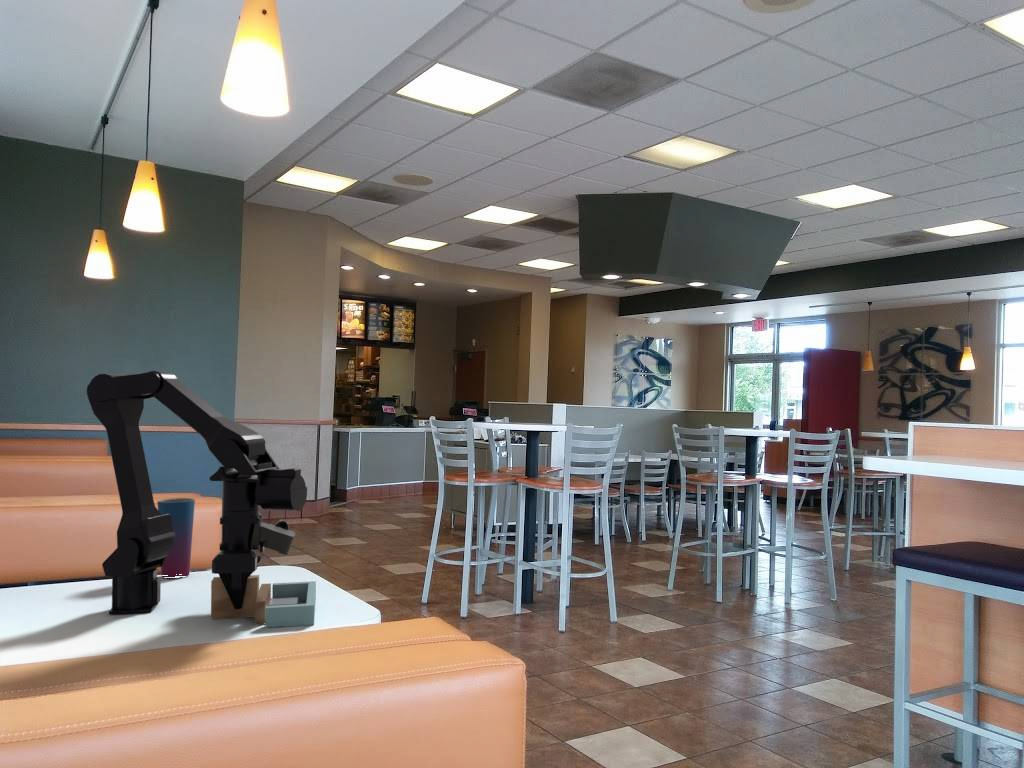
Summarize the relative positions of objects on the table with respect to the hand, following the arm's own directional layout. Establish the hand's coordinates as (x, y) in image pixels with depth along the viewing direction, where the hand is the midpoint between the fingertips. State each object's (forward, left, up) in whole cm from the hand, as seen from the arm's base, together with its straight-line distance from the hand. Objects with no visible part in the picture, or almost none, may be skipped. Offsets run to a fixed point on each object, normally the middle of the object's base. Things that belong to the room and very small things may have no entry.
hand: (239, 606), depth 124 cm
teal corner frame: (+8, 0, -2) cm, 8 cm away
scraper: (-1, 0, -2) cm, 2 cm away
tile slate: (+7, +4, -2) cm, 8 cm away
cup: (-15, +32, -2) cm, 36 cm away
